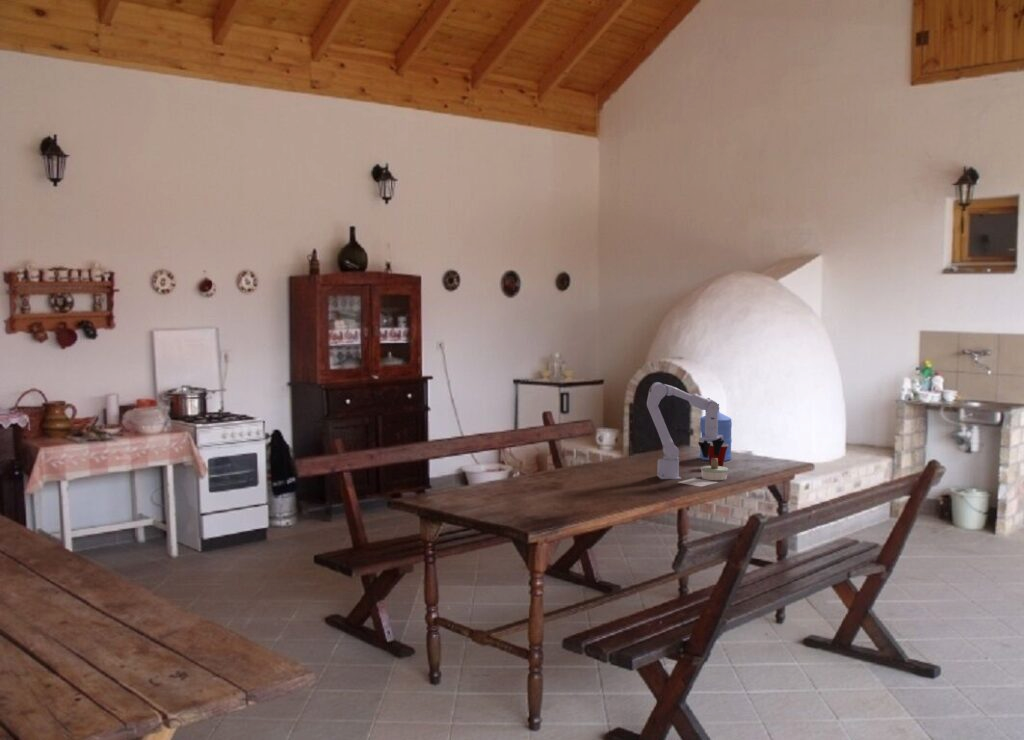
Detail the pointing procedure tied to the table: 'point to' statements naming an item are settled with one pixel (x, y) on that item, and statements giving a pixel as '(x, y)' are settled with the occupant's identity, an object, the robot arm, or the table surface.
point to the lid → (714, 467)
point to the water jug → (720, 433)
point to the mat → (697, 482)
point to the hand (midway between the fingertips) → (710, 456)
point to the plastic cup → (721, 453)
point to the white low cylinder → (714, 475)
